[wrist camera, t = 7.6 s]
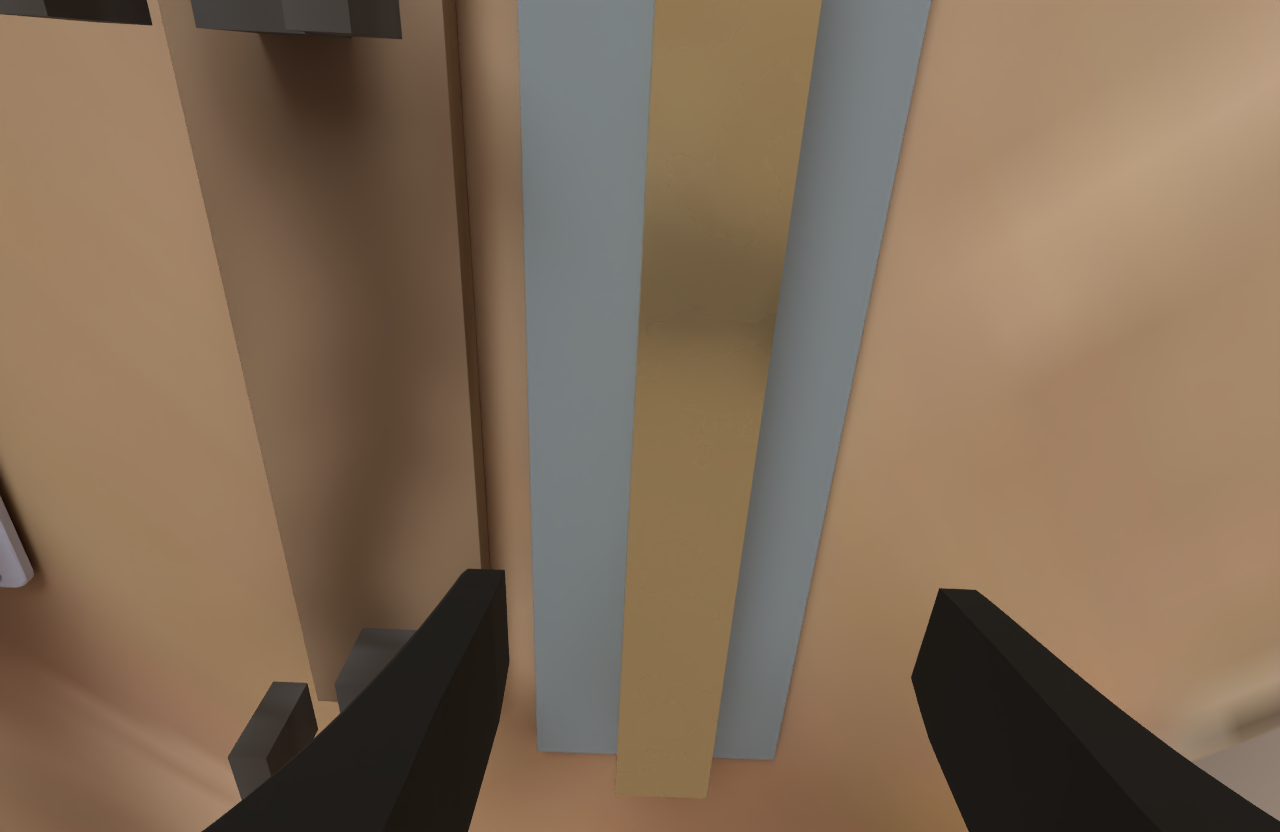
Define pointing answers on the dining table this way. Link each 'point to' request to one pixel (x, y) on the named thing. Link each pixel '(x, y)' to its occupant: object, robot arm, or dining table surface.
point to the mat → (607, 341)
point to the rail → (702, 359)
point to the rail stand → (339, 309)
